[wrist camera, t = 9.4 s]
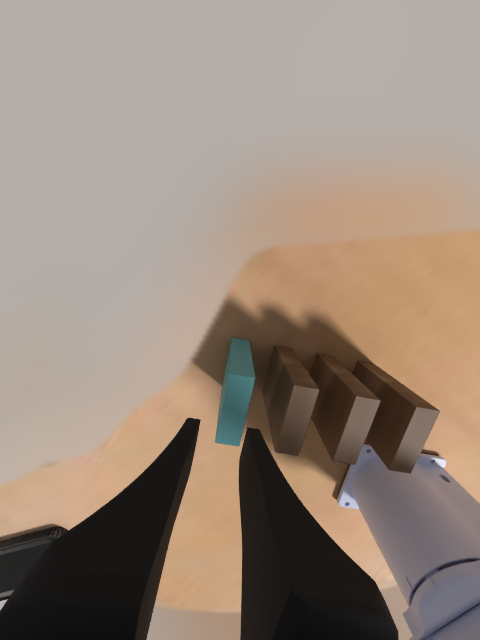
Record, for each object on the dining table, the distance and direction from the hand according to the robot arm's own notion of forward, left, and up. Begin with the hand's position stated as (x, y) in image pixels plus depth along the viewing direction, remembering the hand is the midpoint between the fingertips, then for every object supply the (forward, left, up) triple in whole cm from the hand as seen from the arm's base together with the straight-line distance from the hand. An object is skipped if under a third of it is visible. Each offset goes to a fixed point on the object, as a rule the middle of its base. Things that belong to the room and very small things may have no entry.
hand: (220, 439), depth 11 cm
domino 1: (-5, 0, -10) cm, 11 cm away
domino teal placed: (-1, 0, -10) cm, 10 cm away
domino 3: (-13, 0, -10) cm, 16 cm away
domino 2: (-9, 0, -10) cm, 13 cm away
